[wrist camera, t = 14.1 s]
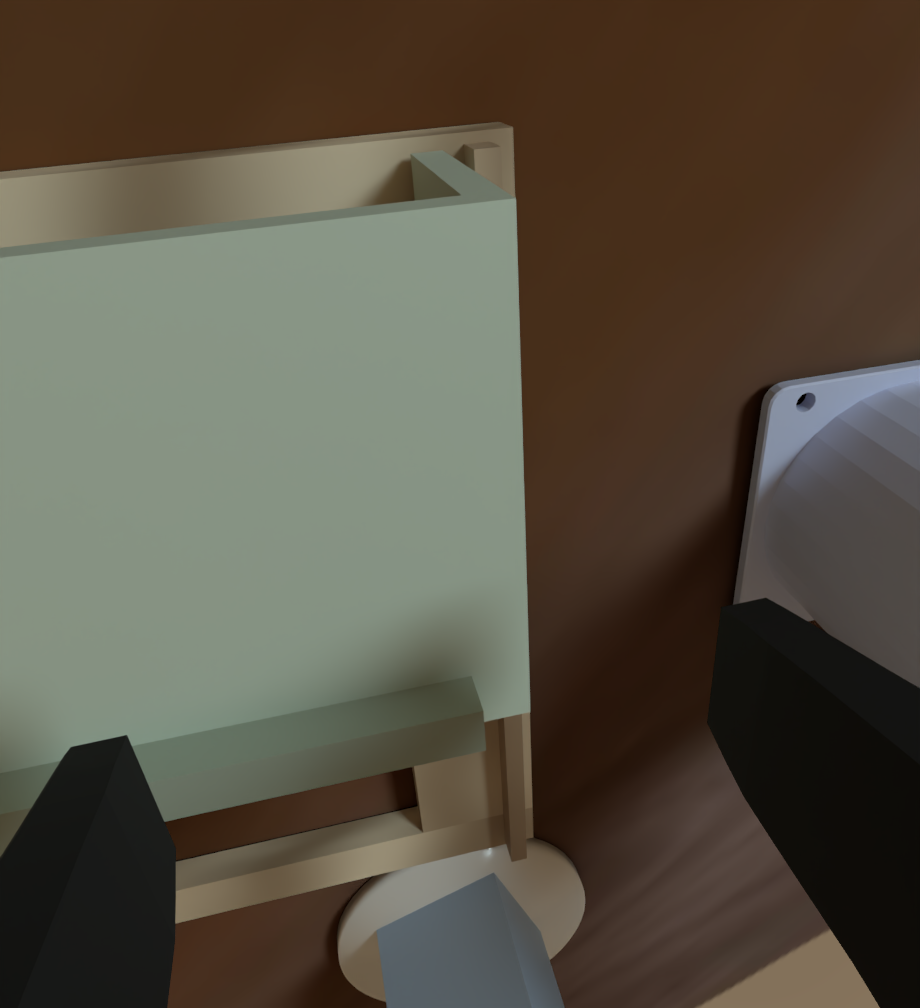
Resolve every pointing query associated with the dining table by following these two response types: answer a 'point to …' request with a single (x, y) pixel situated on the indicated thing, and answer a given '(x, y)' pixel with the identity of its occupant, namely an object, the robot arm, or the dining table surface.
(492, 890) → the slate-blue block
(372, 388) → the sliding cover
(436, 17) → the dining table surface
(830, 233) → the dining table surface
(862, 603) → the robot arm
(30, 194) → the beige open frame
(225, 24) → the dining table surface
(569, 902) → the cream saucer
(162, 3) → the dining table surface
